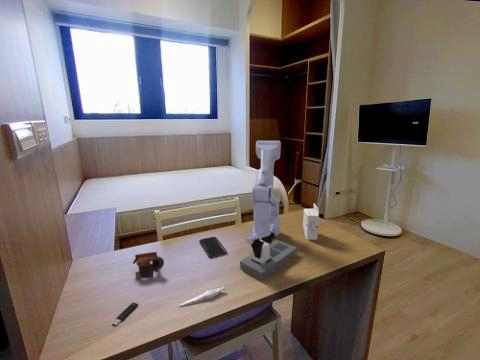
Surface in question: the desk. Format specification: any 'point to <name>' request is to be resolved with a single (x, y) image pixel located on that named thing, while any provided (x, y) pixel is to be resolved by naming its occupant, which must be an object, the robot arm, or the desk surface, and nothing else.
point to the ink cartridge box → (311, 223)
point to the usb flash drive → (125, 313)
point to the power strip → (269, 260)
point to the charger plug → (263, 253)
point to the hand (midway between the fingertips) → (261, 254)
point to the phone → (212, 247)
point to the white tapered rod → (204, 296)
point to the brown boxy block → (148, 264)
